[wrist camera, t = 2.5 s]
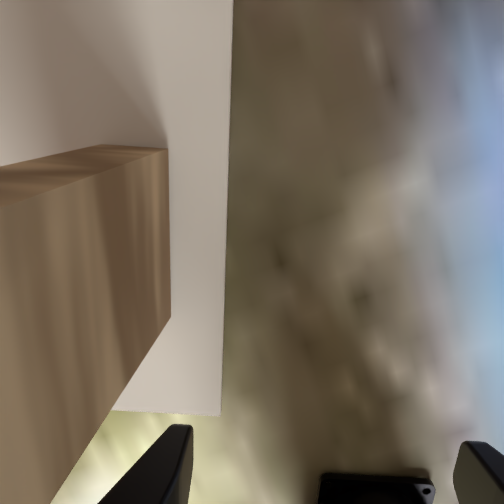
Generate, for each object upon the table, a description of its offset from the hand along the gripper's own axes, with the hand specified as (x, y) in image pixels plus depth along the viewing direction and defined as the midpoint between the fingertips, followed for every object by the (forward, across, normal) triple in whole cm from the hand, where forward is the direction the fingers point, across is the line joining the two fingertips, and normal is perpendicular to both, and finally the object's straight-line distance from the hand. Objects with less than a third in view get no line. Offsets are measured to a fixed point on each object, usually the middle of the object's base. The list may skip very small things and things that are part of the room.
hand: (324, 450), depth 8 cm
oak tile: (+12, +7, 0) cm, 14 cm away
